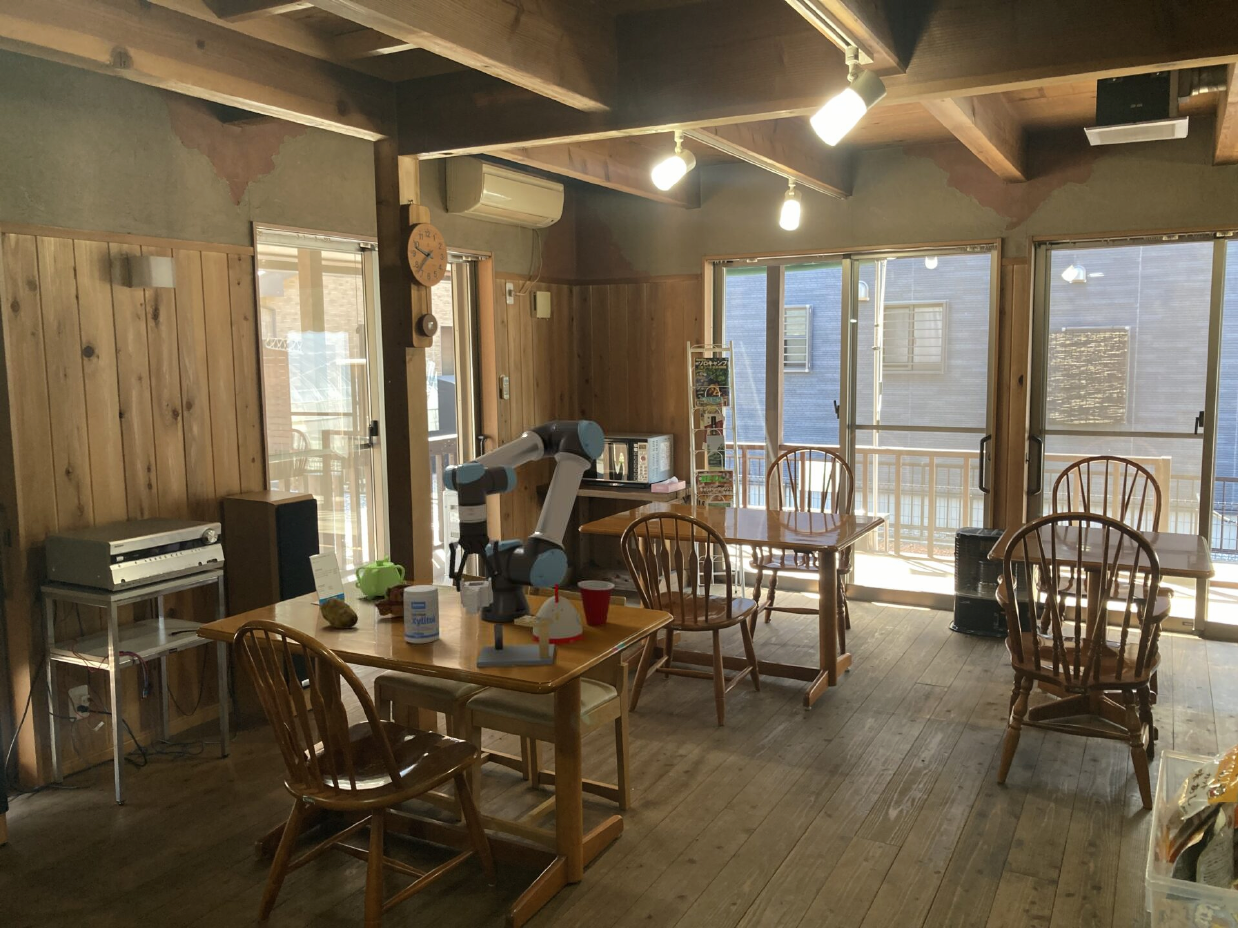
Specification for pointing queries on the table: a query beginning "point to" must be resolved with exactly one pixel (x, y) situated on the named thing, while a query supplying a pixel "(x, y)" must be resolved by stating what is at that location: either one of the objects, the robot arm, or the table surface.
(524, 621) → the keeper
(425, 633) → the supplement tub
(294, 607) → the table surface
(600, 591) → the plastic cup
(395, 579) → the green lidded pot
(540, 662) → the board
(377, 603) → the wooden carving
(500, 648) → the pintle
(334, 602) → the potato
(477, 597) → the link
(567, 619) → the kitchen timer
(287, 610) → the table surface
